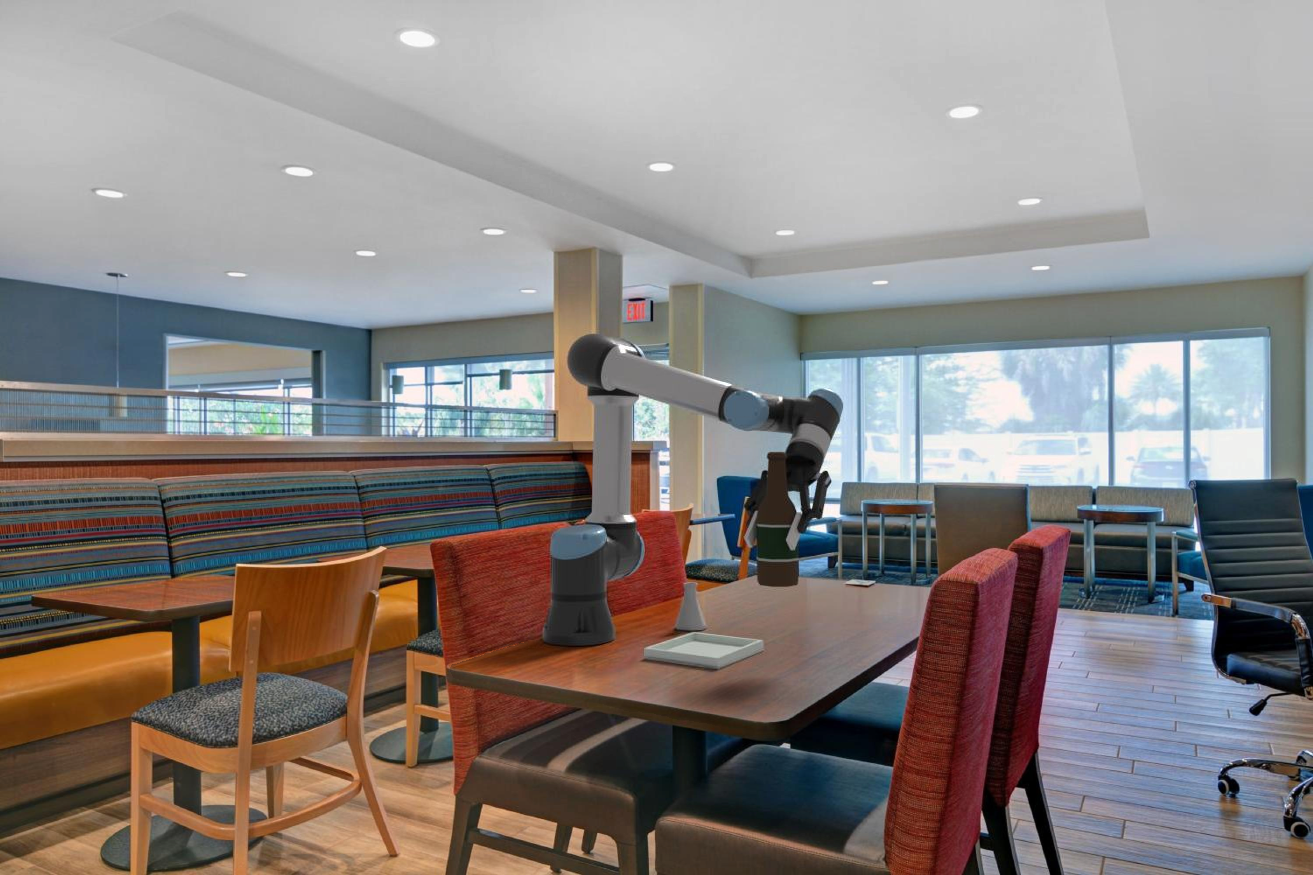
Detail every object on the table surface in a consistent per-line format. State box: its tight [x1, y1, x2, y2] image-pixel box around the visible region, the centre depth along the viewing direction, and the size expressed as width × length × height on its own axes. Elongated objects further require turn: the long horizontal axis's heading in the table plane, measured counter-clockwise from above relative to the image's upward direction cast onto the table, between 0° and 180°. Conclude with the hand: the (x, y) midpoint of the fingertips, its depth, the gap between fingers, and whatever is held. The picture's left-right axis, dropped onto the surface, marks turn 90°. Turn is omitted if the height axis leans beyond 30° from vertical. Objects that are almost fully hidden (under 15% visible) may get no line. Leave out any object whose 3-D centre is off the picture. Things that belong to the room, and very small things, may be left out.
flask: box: [674, 582, 708, 632], centre depth 198 cm, size 7×7×10 cm
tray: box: [643, 631, 765, 670], centre depth 172 cm, size 16×18×2 cm
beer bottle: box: [756, 451, 800, 588], centre depth 162 cm, size 8×8×24 cm
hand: (768, 543), depth 159 cm, fingers closed on beer bottle, 8 cm apart
